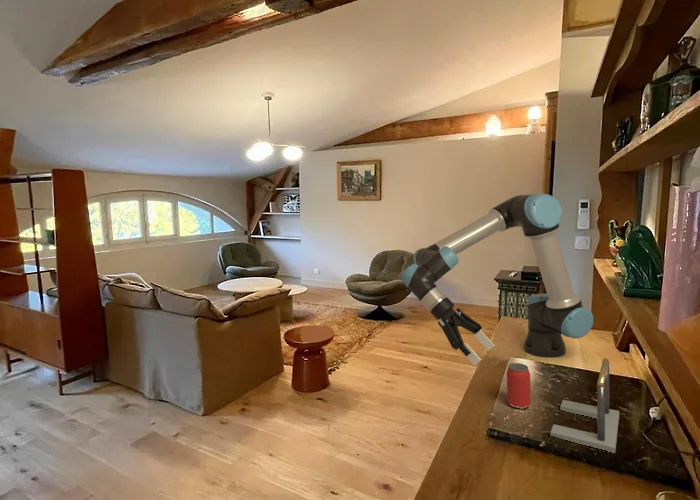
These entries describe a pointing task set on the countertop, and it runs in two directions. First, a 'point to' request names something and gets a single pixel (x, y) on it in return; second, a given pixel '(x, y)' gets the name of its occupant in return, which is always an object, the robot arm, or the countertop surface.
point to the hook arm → (602, 399)
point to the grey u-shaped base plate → (588, 437)
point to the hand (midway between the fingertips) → (485, 355)
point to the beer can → (518, 385)
